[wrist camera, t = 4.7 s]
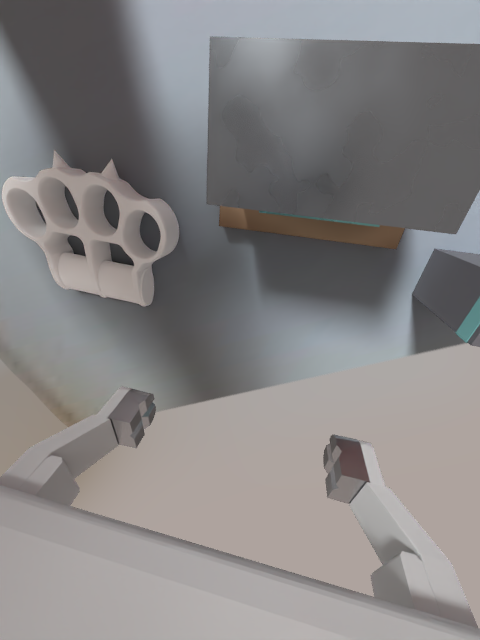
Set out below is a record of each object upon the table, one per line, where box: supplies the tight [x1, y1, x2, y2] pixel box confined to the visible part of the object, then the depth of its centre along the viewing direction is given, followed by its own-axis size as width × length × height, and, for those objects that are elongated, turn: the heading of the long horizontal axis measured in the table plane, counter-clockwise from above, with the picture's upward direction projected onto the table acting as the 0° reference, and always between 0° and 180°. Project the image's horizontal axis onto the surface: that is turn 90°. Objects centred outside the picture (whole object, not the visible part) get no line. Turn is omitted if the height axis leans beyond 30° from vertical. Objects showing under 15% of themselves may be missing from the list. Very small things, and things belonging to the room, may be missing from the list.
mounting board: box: [219, 206, 405, 249], centre depth 19 cm, size 10×16×2 cm, turn 85°
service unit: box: [207, 37, 480, 234], centre depth 14 cm, size 7×12×10 cm, turn 85°
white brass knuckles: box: [2, 150, 179, 307], centre depth 26 cm, size 3×18×15 cm
